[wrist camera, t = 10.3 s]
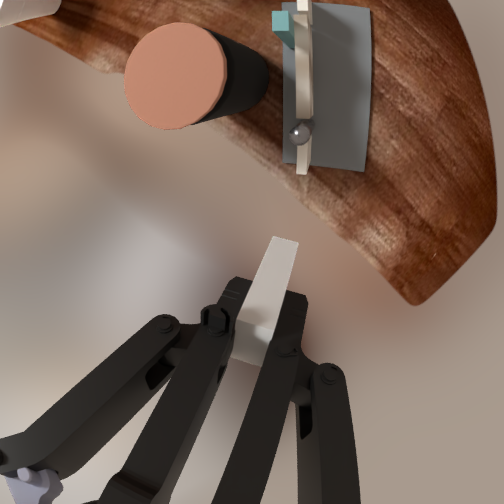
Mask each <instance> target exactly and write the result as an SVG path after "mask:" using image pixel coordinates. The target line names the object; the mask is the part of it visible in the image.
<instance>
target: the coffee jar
mask: <svg viewBox="0 0 504 504" xmlns="http://www.w3.org/2000/svg"><path fill="white" fill-rule="evenodd" d="M268 84H269V71H268V69H267V66H266V63H265V61H264V60H263V59H262V57H261V56H260V55H259V54H258V53H257V52H255V51H254V50H252V49H250V48H249V47H247V46H245V45H243V44H240V43H238V42H236V41H234V40H232V39H230V38H227V37H225V36H223V35H220V34H218V33H216V32H213V31H211V30H208V29H206V28H201V27H199V26H196V25H194V24H192V23H179V22H175V23H171V24H168V25H164V26H160V27H158V28H157V29H155V30H153V31H152V32H150V33H148V34H147V35H145V37H144V38H143V39H142V40H141V41H140V42H139V43H138V44H137V45H136V46H135V48H134V50H133V51H132V53H131V55H130V57H129V59H128V61H127V65H126V70H125V75H124V85H125V94H126V97H127V99H128V102H129V105H130V107H131V108H132V110H133V111H134V112H135V114H136V115H137V116H138V118H140V119H141V120H143V121H144V122H145V123H147V124H148V125H150V126H153V127H156V128H160V129H164V130H170V129H181V128H183V127H186V126H188V125H195V124H198V123H201V122H205V121H208V120H212V119H215V118H219V117H223V116H226V115H230V114H234V113H238V112H241V111H244V110H248V109H250V108H251V107H253V106H254V105H255V104H257V103H258V102H259V101H260V100H261V98H262V97H263V96H264V94H265V92H266V89H267V86H268Z"/></svg>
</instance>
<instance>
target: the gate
mask: <svg viewBox="0 0 504 504" xmlns="http://www.w3.org/2000/svg"><path fill="white" fill-rule="evenodd" d="M293 16H294V37H295V66H296V118H300V119H310V118H311V117H312V116H313V49H312V28H311V25H310V22H309V19H308V16H307V15H293Z"/></svg>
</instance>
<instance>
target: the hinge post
mask: <svg viewBox="0 0 504 504" xmlns="http://www.w3.org/2000/svg"><path fill="white" fill-rule="evenodd" d="M314 128H315V122H314V121H313V120H312V119H311V118H310V119H303V120H302V121H301V122H299V123H298V124H297V125H296V126H295V127H294V128H293V129H291V131H290V133H289V139H290V141H291V142H292V143H293V144H294V145H297V146H302V145H304V144H306V143H307V141H308V139H309V137H310V135H311V134H312V132H313V130H314Z"/></svg>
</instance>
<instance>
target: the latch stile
mask: <svg viewBox="0 0 504 504" xmlns="http://www.w3.org/2000/svg"><path fill="white" fill-rule="evenodd" d="M272 31H273V32H274V33H275V34H276V35H277V36H278V37H279V38H280V39H281V40H282V41H283V42H284V43H285V44H286V45H287V46H288V47H289V48H295V37H294V20H293V18H292V16H291V15H290V13H289V11H272Z"/></svg>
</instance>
